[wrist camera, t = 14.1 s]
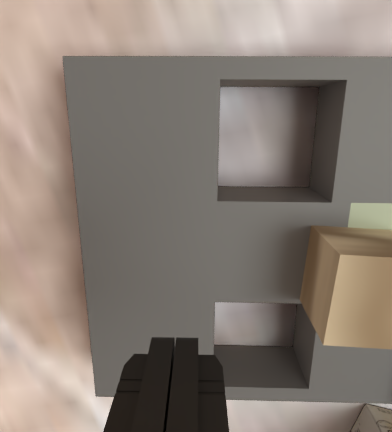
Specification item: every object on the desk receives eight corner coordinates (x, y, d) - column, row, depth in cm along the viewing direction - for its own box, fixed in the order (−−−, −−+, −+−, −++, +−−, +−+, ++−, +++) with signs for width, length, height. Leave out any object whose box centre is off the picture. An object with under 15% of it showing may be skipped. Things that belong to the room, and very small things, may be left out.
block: (299, 299, 19) (323, 345, 15) (311, 225, 18) (340, 254, 14) (378, 304, 19) (421, 351, 15) (395, 230, 18) (447, 260, 14)
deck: (112, 354, 25) (88, 416, 20) (90, 68, 20) (48, 50, 14) (379, 360, 25) (426, 425, 20) (435, 68, 19) (521, 50, 14)
